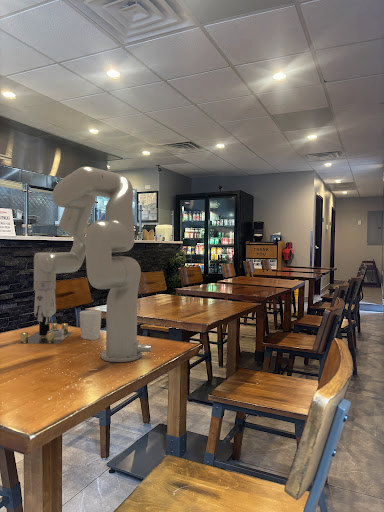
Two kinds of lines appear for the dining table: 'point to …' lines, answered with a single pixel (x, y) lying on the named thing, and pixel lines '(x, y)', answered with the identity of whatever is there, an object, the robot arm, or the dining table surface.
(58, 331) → the steel nut
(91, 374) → the dining table surface
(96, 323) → the white cup
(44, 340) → the jig plate
